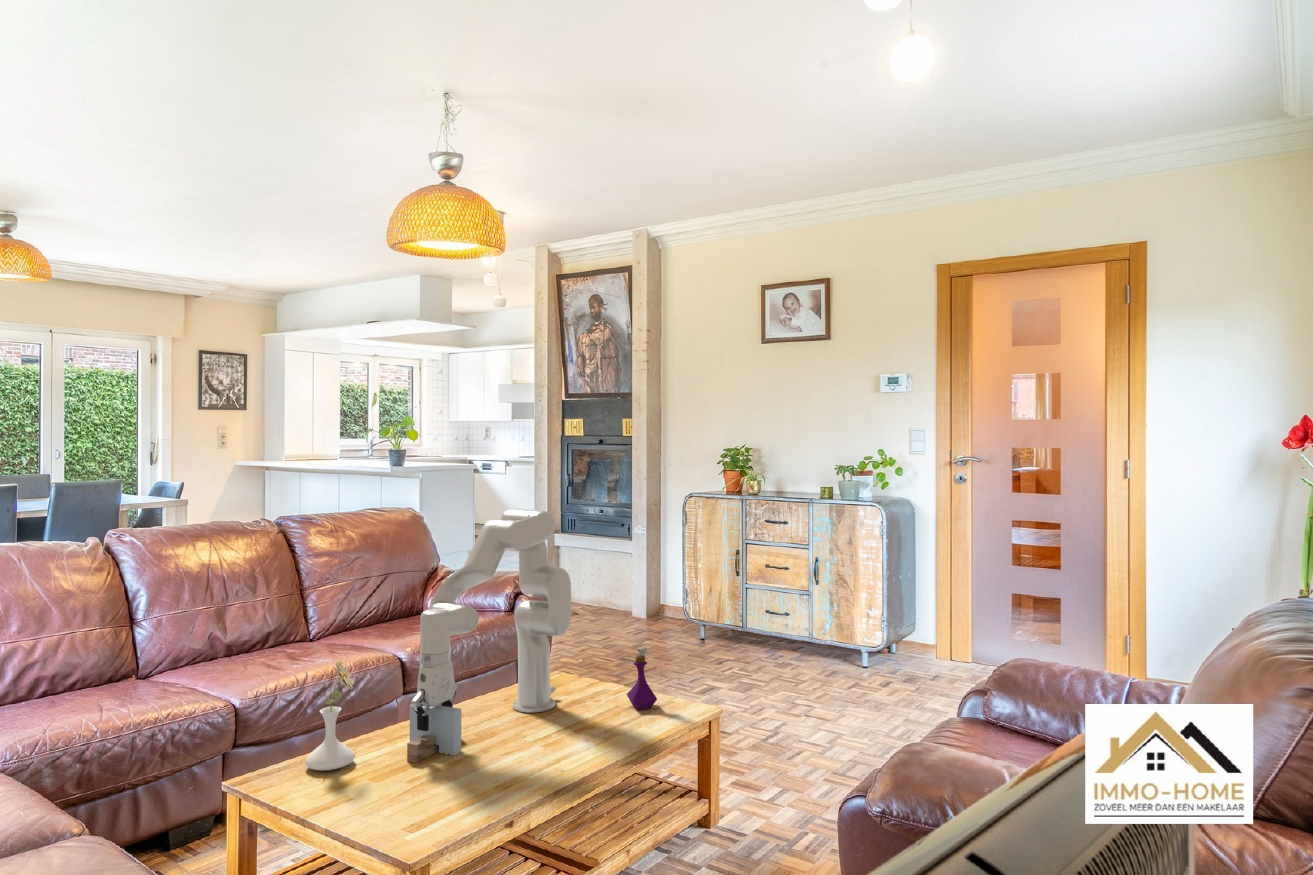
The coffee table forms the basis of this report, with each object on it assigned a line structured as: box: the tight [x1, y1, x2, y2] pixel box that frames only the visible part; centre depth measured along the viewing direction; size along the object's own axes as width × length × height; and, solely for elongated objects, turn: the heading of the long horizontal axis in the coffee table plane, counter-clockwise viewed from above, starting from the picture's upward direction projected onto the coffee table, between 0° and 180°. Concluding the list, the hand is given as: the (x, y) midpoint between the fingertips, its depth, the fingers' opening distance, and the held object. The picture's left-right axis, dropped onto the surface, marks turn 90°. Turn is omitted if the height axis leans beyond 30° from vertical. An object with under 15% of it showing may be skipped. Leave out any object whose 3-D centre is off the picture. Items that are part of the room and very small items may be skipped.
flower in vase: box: [304, 660, 356, 771], centre depth 206 cm, size 13×11×25 cm
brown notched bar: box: [406, 735, 439, 764], centre depth 216 cm, size 18×3×4 cm, turn 157°
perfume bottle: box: [626, 647, 658, 711], centre depth 250 cm, size 8×8×18 cm
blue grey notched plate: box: [409, 704, 462, 756], centre depth 216 cm, size 3×14×11 cm, turn 67°
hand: (435, 724), depth 216 cm, fingers open, 9 cm apart
